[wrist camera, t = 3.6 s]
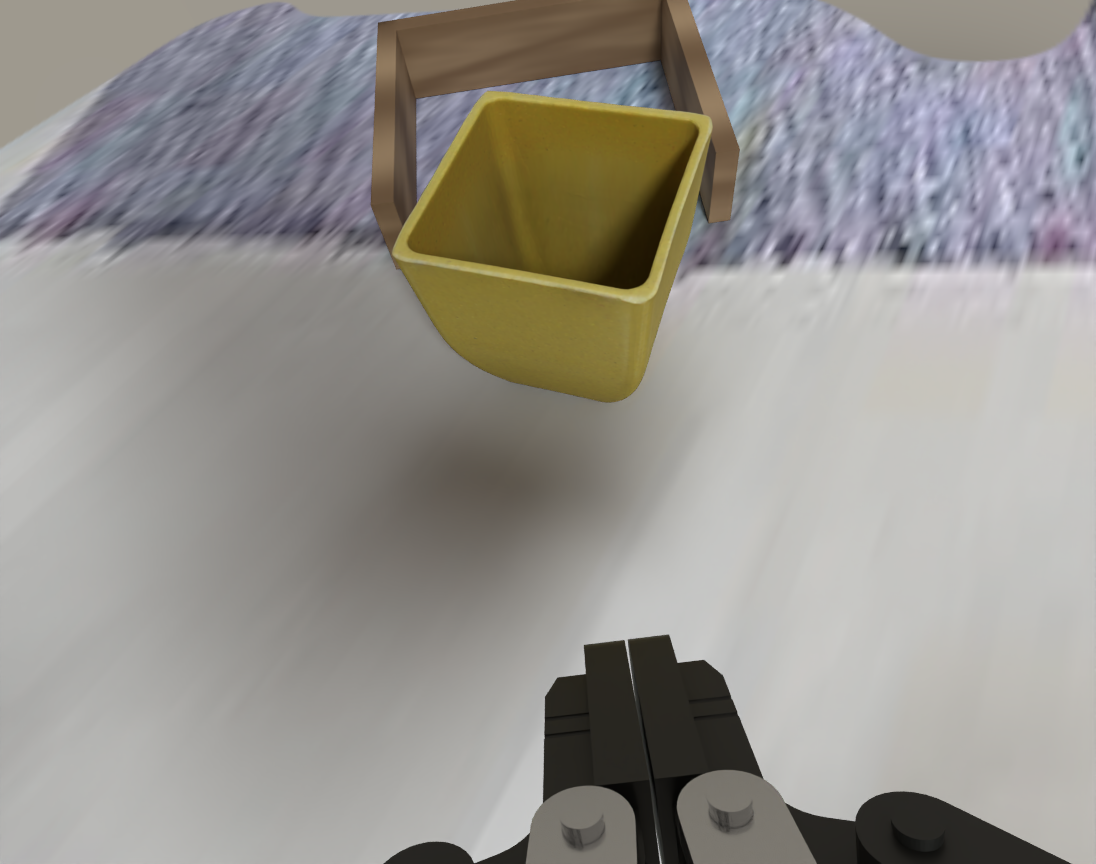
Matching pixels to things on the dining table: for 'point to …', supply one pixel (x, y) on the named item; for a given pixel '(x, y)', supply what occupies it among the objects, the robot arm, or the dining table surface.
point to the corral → (535, 77)
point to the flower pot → (556, 238)
